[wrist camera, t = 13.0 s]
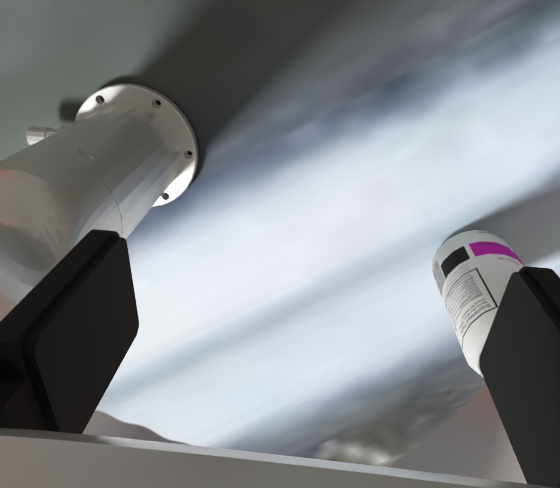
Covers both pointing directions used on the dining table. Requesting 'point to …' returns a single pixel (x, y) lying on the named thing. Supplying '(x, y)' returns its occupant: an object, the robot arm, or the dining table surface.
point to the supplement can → (474, 285)
